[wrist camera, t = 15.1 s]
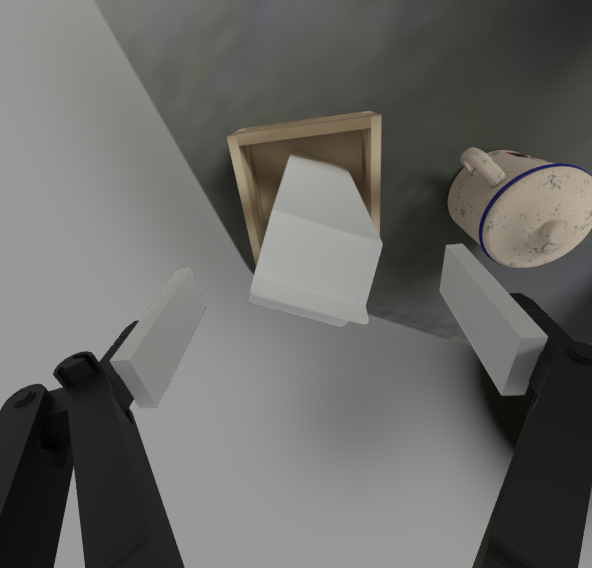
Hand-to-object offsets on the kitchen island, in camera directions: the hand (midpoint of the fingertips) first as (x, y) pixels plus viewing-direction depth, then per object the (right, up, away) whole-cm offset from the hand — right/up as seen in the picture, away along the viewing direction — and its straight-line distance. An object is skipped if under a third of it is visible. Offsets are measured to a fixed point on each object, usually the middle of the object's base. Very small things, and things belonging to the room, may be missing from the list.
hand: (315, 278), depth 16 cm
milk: (+1, +10, +17) cm, 20 cm away
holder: (+1, +11, +17) cm, 20 cm away
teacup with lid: (+19, +11, +17) cm, 27 cm away
